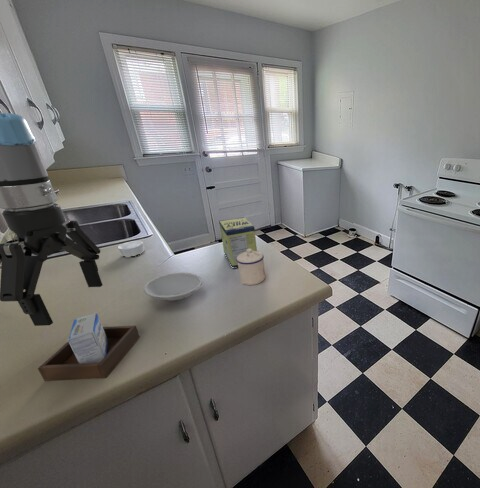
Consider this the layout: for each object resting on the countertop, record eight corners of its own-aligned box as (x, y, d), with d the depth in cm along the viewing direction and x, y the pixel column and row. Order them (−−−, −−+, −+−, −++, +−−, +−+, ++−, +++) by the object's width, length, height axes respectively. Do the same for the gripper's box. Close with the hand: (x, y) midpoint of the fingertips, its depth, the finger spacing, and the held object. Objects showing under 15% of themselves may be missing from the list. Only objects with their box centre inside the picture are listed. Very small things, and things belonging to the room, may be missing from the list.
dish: (135, 306, 81) (130, 292, 79) (171, 282, 94) (167, 269, 92) (184, 315, 77) (180, 300, 75) (215, 289, 90) (212, 276, 88)
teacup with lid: (270, 279, 96) (268, 249, 92) (248, 288, 90) (244, 257, 86) (252, 268, 104) (249, 240, 99) (230, 276, 98) (226, 247, 93)
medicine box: (107, 361, 61) (94, 331, 58) (81, 370, 59) (66, 339, 55) (108, 340, 67) (97, 312, 64) (85, 348, 65) (72, 319, 61)
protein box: (248, 249, 120) (244, 216, 114) (259, 263, 108) (255, 226, 102) (223, 254, 115) (218, 220, 109) (232, 269, 103) (226, 231, 97)
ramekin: (126, 260, 110) (123, 250, 109) (116, 255, 115) (113, 245, 113) (149, 252, 117) (146, 243, 115) (139, 248, 122) (136, 239, 120)
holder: (44, 381, 57) (37, 368, 56) (88, 338, 69) (83, 327, 67) (106, 377, 58) (100, 365, 56) (139, 336, 69) (136, 325, 68)
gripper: (-25, 228, 38) (37, 345, 46) (100, 191, 61) (126, 274, 69) (-82, 229, 38) (-10, 347, 46) (65, 191, 60) (96, 274, 69)
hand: (72, 303), depth 57 cm, fingers open, 13 cm apart
